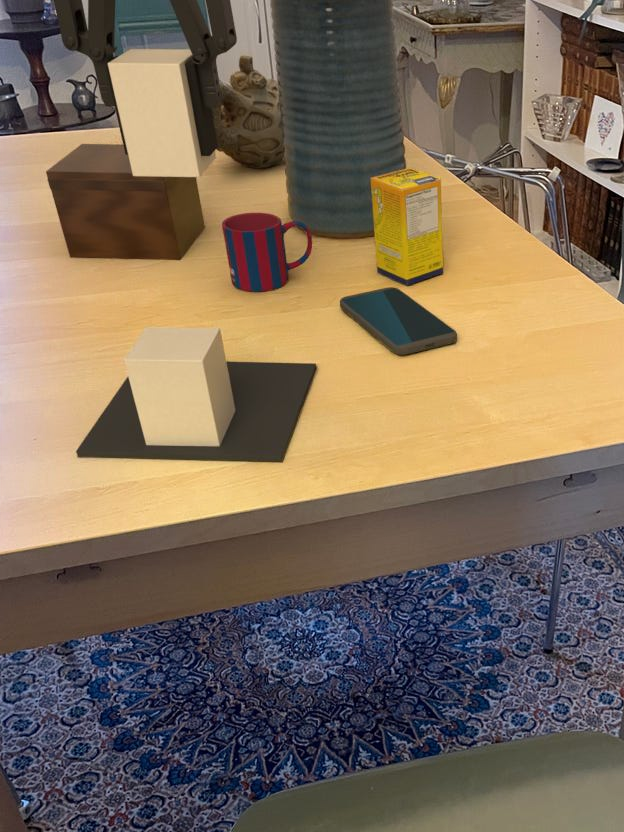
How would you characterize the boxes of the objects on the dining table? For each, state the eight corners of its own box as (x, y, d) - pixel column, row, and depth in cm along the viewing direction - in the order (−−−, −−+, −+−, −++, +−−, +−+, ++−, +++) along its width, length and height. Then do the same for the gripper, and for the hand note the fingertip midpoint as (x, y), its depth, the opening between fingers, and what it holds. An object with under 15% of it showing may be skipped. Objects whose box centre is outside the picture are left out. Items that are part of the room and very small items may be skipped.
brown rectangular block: (69, 257, 117) (44, 171, 110) (102, 224, 126) (81, 143, 119) (180, 259, 117) (163, 173, 110) (205, 227, 126) (190, 145, 119)
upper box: (146, 445, 82) (123, 359, 77) (166, 409, 87) (146, 326, 82) (219, 446, 82) (202, 360, 77) (235, 410, 87) (220, 327, 82)
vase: (284, 205, 133) (248, -74, 111) (397, 197, 136) (384, -77, 115) (296, 245, 121) (259, -59, 100) (420, 235, 124) (410, -62, 103)
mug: (230, 273, 114) (220, 214, 109) (313, 266, 115) (307, 208, 111) (232, 294, 109) (222, 233, 104) (319, 287, 110) (312, 227, 106)
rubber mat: (77, 457, 82) (75, 451, 81) (140, 364, 95) (139, 359, 95) (282, 462, 81) (281, 456, 81) (316, 368, 95) (316, 363, 94)
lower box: (132, 176, 76) (107, 62, 71) (153, 157, 80) (130, 48, 75) (199, 177, 76) (179, 63, 71) (216, 158, 80) (198, 49, 75)
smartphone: (396, 293, 109) (396, 285, 108) (461, 341, 99) (461, 333, 99) (336, 306, 106) (335, 298, 105) (397, 357, 96) (397, 349, 96)
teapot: (261, 145, 155) (246, 39, 145) (322, 152, 152) (312, 44, 142) (186, 181, 141) (164, 66, 131) (253, 190, 138) (235, 73, 127)
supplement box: (412, 260, 117) (408, 166, 110) (444, 274, 114) (442, 177, 106) (375, 273, 114) (368, 176, 107) (406, 287, 111) (402, 188, 103)
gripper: (248, -231, 64) (292, 140, 80) (-17, -232, 65) (78, 137, 80) (221, -234, 59) (274, 165, 74) (-68, -236, 59) (44, 162, 75)
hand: (172, 150), depth 77 cm, fingers closed on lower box, 5 cm apart
